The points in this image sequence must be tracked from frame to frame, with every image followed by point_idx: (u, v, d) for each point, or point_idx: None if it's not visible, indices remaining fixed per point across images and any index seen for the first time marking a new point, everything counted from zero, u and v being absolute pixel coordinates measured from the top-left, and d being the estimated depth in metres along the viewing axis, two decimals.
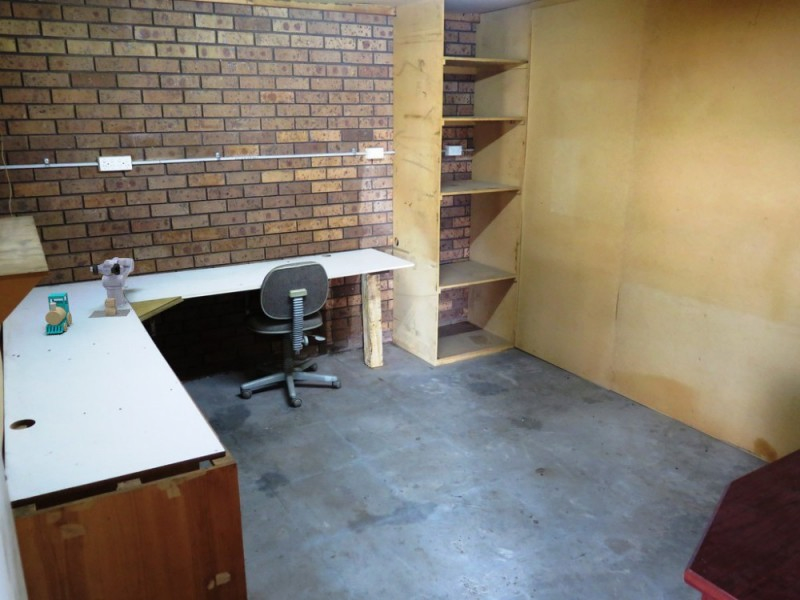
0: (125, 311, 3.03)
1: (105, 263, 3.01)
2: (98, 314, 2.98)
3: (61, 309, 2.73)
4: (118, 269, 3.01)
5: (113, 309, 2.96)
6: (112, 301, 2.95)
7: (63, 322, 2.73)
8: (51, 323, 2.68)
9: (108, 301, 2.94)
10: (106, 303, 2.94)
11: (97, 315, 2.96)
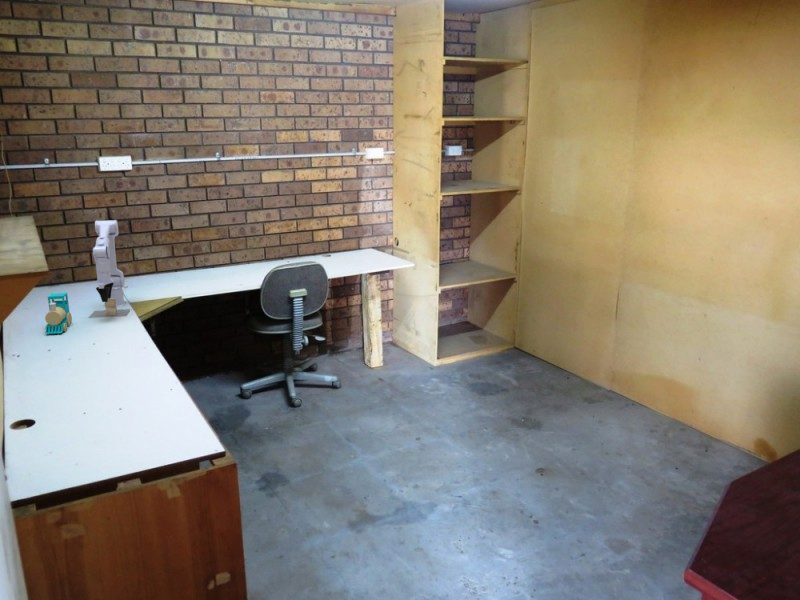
0: (125, 311, 3.03)
1: (110, 282, 2.87)
2: (98, 314, 2.98)
3: (61, 309, 2.73)
4: None
5: (113, 309, 2.96)
6: (112, 301, 2.95)
7: (63, 322, 2.73)
8: (51, 323, 2.68)
9: (108, 301, 2.94)
10: (106, 303, 2.94)
11: (97, 315, 2.96)
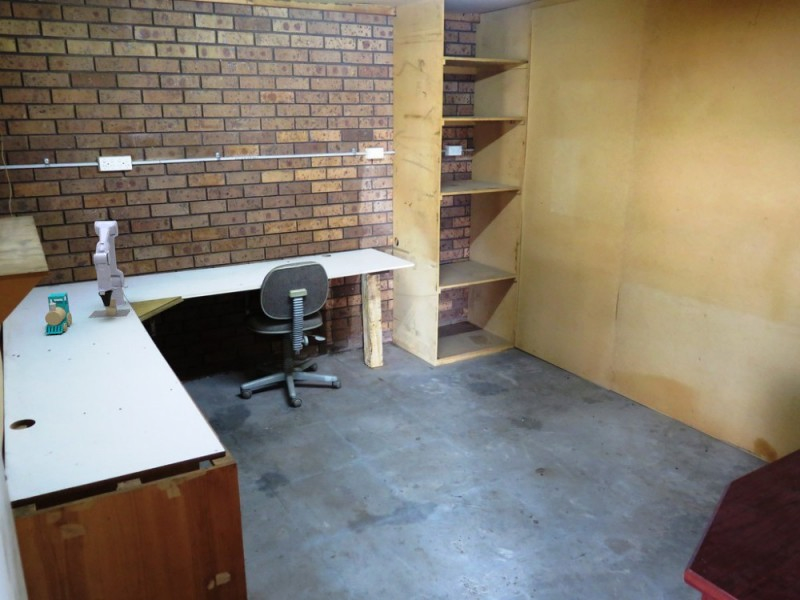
0: (125, 311, 3.03)
1: (111, 288, 2.88)
2: (98, 314, 2.98)
3: (61, 309, 2.73)
4: None
5: (113, 309, 2.96)
6: (112, 301, 2.95)
7: (63, 322, 2.73)
8: (51, 323, 2.68)
9: None
10: None
11: (97, 315, 2.96)
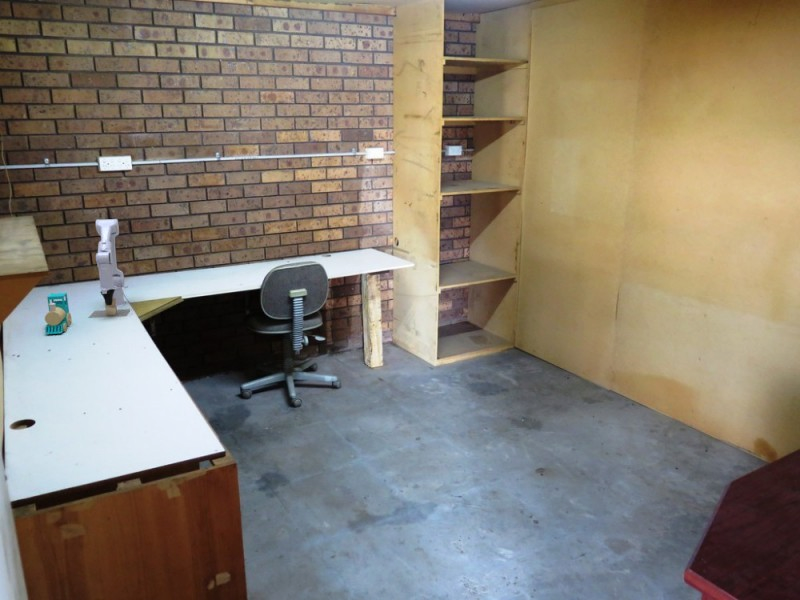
0: (125, 311, 3.03)
1: (113, 287, 2.92)
2: (98, 314, 2.98)
3: (61, 309, 2.73)
4: None
5: (113, 309, 2.96)
6: (112, 301, 2.95)
7: (63, 322, 2.73)
8: (51, 323, 2.68)
9: None
10: None
11: (97, 315, 2.96)
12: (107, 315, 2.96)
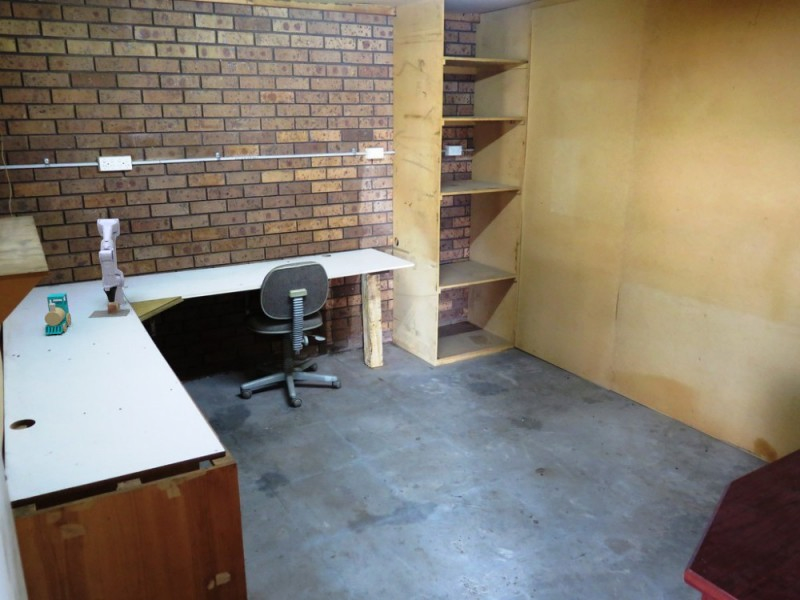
0: (125, 311, 3.03)
1: (115, 285, 2.98)
2: (98, 314, 2.98)
3: (60, 310, 2.73)
4: None
5: (116, 303, 3.02)
6: (117, 301, 3.06)
7: (62, 323, 2.72)
8: (50, 324, 2.67)
9: None
10: (111, 302, 3.04)
11: (97, 315, 2.96)
12: (107, 315, 2.96)
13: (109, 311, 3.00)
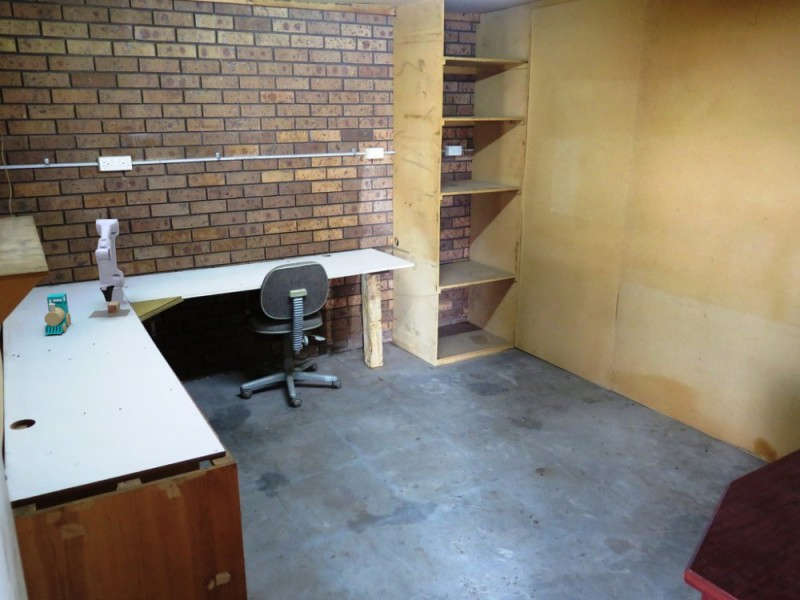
0: (125, 311, 3.03)
1: (112, 284, 2.92)
2: (98, 314, 2.98)
3: (60, 310, 2.72)
4: None
5: (116, 303, 3.02)
6: (117, 301, 3.06)
7: (62, 323, 2.72)
8: (50, 324, 2.67)
9: None
10: (111, 302, 3.04)
11: (97, 315, 2.96)
12: (107, 315, 2.96)
13: (109, 311, 3.00)
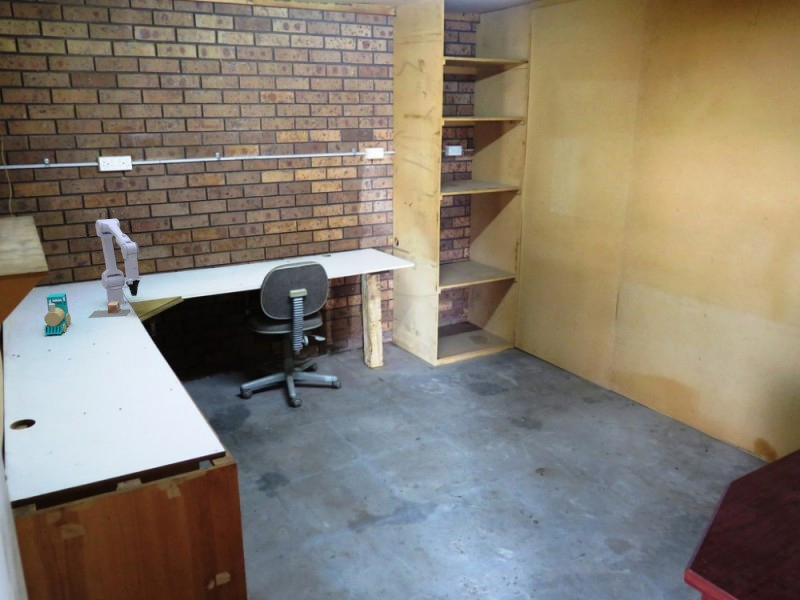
0: (125, 311, 3.03)
1: (138, 278, 2.96)
2: (98, 314, 2.98)
3: (60, 310, 2.72)
4: None
5: (116, 303, 3.02)
6: (117, 301, 3.06)
7: (62, 323, 2.72)
8: (50, 324, 2.67)
9: None
10: (111, 302, 3.04)
11: (97, 315, 2.96)
12: (107, 315, 2.96)
13: (109, 311, 3.00)
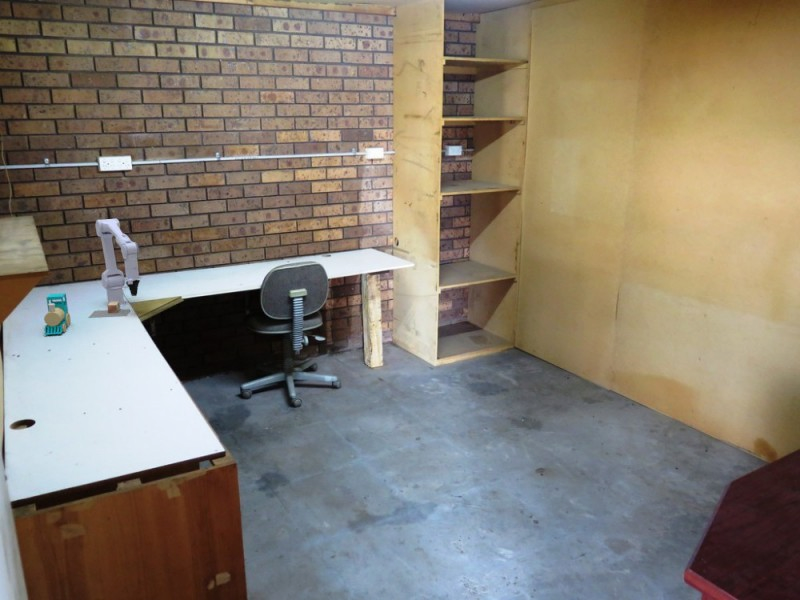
0: (125, 311, 3.03)
1: (138, 278, 2.96)
2: (98, 314, 2.98)
3: (60, 310, 2.72)
4: None
5: (116, 303, 3.02)
6: (117, 301, 3.06)
7: (62, 323, 2.72)
8: (50, 324, 2.67)
9: None
10: (111, 302, 3.04)
11: (97, 315, 2.96)
12: (107, 315, 2.96)
13: (109, 311, 3.00)
